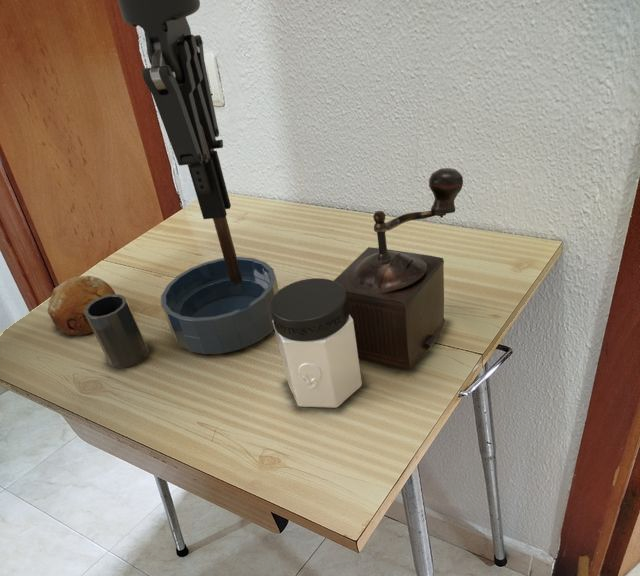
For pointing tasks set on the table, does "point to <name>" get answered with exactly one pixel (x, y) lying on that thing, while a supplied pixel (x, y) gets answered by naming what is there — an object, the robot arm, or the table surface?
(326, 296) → the jar
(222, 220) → the stick
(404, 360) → the manual coffee grinder
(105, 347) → the holder
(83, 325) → the bread roll
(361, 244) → the table surface
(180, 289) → the bowl
